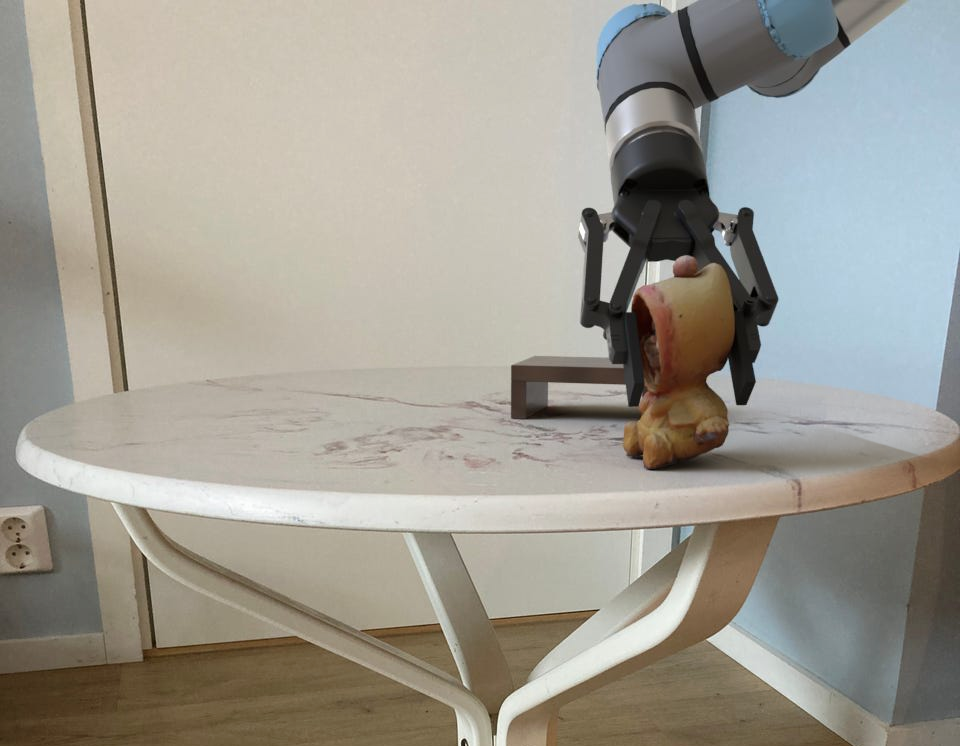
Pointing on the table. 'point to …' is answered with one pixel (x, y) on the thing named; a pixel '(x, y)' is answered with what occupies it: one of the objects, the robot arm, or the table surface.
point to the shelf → (557, 379)
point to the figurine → (681, 364)
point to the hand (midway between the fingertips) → (691, 394)
